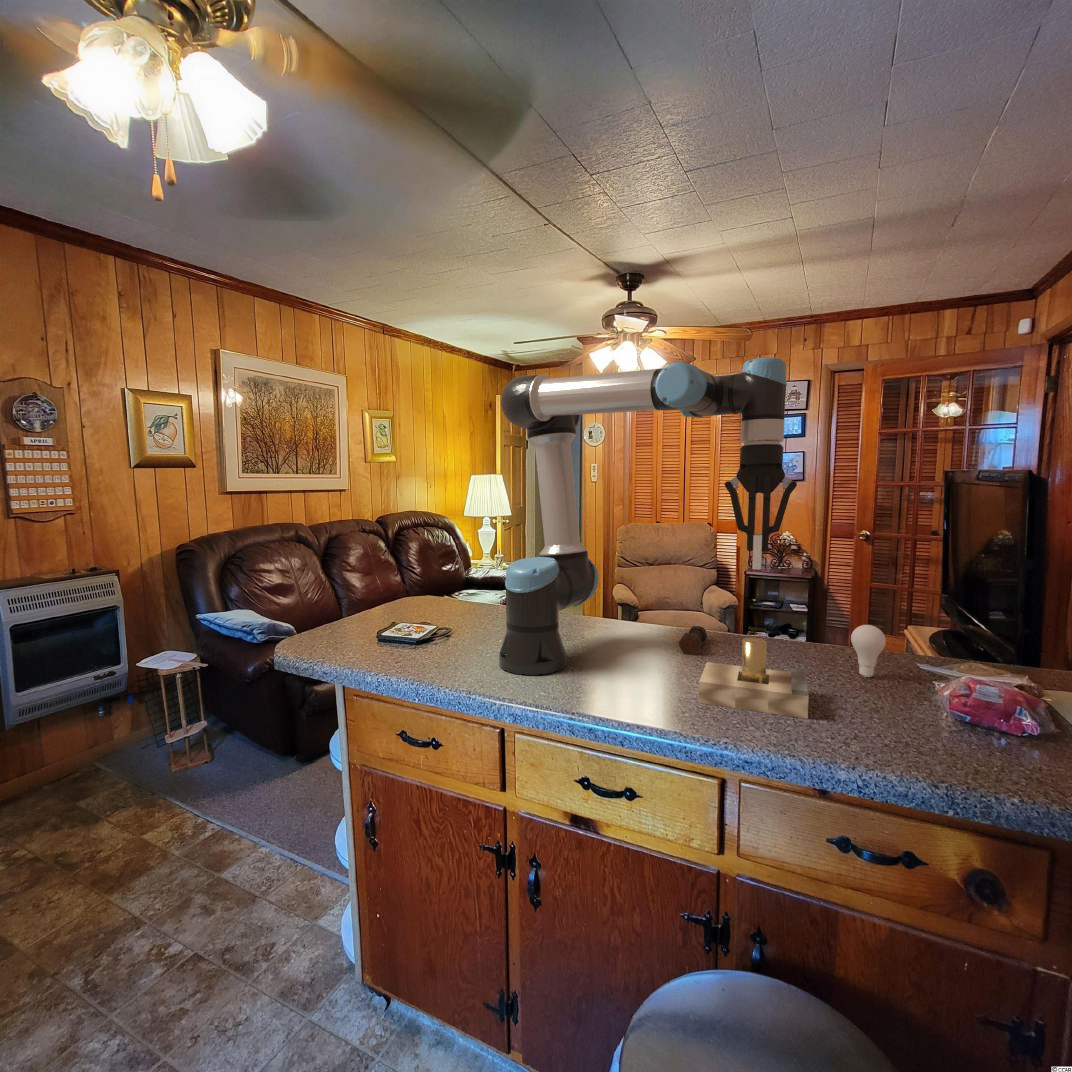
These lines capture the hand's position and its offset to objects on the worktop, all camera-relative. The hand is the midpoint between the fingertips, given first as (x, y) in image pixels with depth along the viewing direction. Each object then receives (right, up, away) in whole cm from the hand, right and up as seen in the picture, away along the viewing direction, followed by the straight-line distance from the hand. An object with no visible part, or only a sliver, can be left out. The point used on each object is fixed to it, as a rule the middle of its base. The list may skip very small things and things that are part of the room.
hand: (756, 568), depth 106 cm
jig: (-2, -24, -3) cm, 24 cm away
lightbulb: (+26, -23, +8) cm, 36 cm away
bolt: (-3, -22, +30) cm, 37 cm away
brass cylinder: (-2, -24, -3) cm, 24 cm away
